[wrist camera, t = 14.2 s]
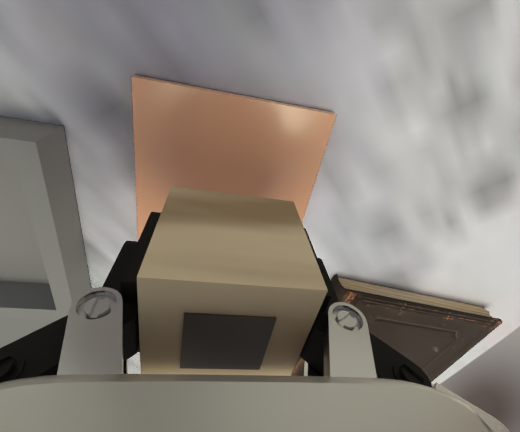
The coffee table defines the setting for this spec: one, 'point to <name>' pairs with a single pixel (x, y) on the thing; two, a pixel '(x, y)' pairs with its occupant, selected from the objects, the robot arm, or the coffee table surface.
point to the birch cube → (226, 286)
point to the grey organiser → (37, 229)
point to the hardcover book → (415, 324)
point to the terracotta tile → (222, 144)
